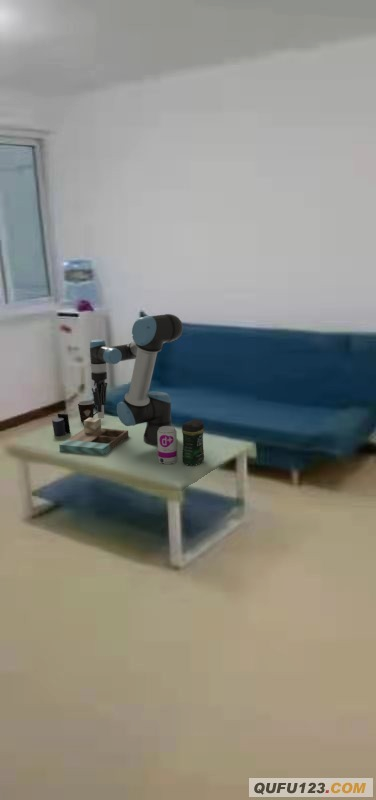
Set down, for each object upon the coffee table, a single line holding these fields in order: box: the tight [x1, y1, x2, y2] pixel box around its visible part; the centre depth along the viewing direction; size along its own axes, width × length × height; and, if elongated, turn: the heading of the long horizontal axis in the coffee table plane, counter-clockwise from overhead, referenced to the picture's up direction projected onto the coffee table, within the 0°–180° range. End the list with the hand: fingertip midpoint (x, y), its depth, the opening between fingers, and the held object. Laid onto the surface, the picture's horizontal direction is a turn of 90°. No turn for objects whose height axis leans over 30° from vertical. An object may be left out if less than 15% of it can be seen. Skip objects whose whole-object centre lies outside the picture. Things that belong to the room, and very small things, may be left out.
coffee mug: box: [77, 400, 98, 423], centre depth 330 cm, size 12×9×10 cm
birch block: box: [83, 417, 102, 434], centre depth 303 cm, size 6×6×6 cm
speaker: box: [51, 412, 71, 437], centre depth 309 cm, size 8×6×10 cm
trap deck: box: [58, 427, 129, 456], centre depth 295 cm, size 22×28×3 cm
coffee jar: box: [181, 418, 205, 466], centre depth 266 cm, size 10×8×19 cm
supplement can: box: [157, 425, 178, 465], centre depth 268 cm, size 8×8×15 cm
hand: (101, 417), depth 312 cm, fingers closed
